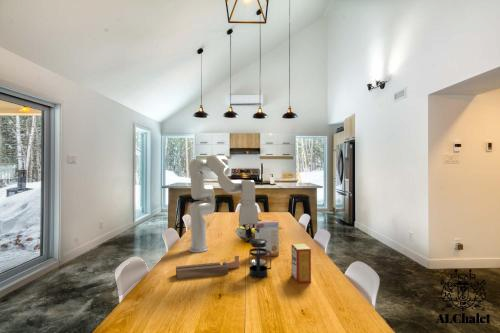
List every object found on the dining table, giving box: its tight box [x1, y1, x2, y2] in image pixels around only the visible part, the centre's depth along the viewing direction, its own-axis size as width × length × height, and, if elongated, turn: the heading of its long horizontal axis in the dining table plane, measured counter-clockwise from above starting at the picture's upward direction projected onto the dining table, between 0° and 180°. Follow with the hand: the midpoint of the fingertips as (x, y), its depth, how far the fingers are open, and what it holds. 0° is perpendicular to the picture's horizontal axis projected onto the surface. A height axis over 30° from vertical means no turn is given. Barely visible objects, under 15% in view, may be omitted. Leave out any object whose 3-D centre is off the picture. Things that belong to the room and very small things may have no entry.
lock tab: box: [226, 254, 240, 269], centre depth 140 cm, size 2×7×6 cm, turn 105°
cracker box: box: [254, 219, 280, 258], centre depth 161 cm, size 14×6×21 cm, turn 100°
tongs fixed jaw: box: [176, 261, 229, 280], centre depth 131 cm, size 4×25×5 cm, turn 105°
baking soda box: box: [291, 242, 312, 284], centre depth 126 cm, size 10×6×16 cm
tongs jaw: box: [175, 261, 221, 277], centre depth 133 cm, size 2×22×4 cm, turn 105°
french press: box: [248, 228, 272, 279], centre depth 131 cm, size 12×9×23 cm
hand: (248, 236), depth 142 cm, fingers closed
